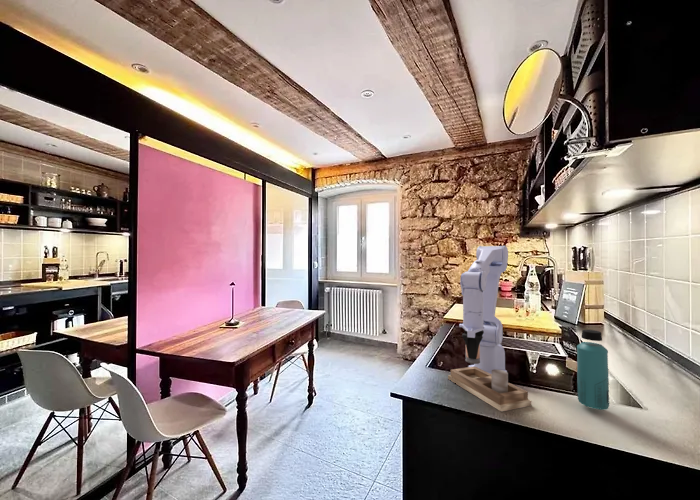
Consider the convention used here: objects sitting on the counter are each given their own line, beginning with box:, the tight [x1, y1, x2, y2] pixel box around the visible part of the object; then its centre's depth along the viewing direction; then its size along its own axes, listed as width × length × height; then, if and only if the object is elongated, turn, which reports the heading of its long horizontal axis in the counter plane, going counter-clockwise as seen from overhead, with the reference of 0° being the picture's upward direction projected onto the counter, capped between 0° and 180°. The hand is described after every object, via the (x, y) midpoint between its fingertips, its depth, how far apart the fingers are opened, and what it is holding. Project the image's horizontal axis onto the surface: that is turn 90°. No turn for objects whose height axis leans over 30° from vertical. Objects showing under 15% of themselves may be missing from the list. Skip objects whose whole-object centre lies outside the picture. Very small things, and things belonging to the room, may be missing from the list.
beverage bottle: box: [576, 329, 611, 411], centre depth 78 cm, size 6×7×20 cm
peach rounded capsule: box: [465, 344, 480, 365], centre depth 93 cm, size 4×4×7 cm
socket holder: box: [447, 366, 532, 412], centre depth 88 cm, size 10×21×7 cm, turn 19°
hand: (473, 356), depth 93 cm, fingers closed on peach rounded capsule, 4 cm apart
